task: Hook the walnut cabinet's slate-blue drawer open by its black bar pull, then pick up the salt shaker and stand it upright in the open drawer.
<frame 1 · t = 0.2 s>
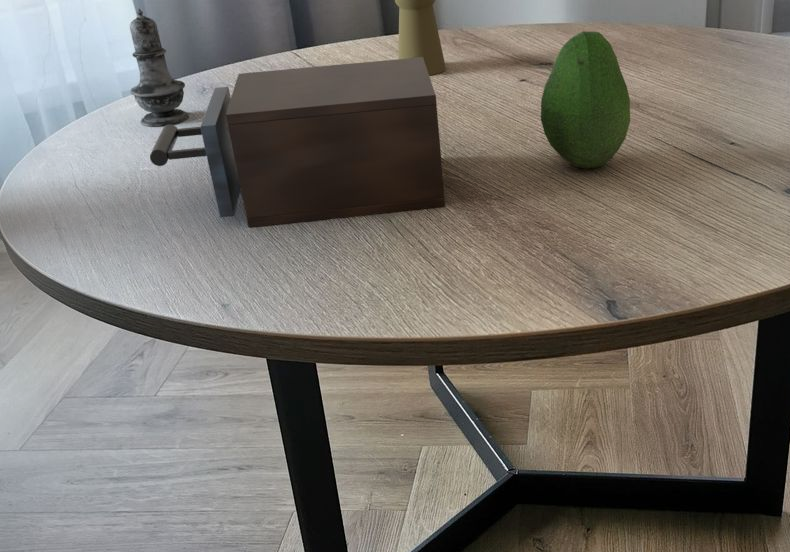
drawer: (279, 144, 83), point 5 cm above the table, slide at 1.0 cm
cabinet: (346, 190, 86), on the table
salt shaker: (165, 120, 108), on the table
fruit: (585, 167, 89), on the table
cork: (422, 71, 121), on the table
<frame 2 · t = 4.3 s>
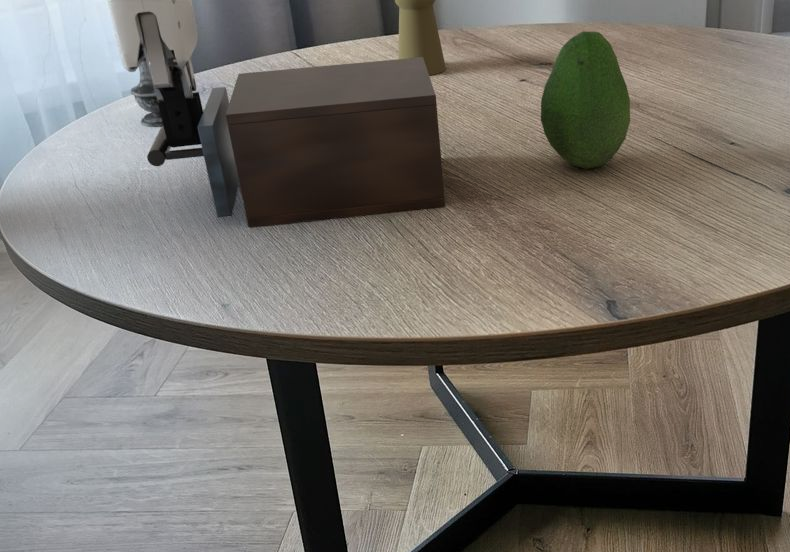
hand: (189, 142, 82), 6 cm above the table, tool pointing down, fingers closed
nothing on the table moved.
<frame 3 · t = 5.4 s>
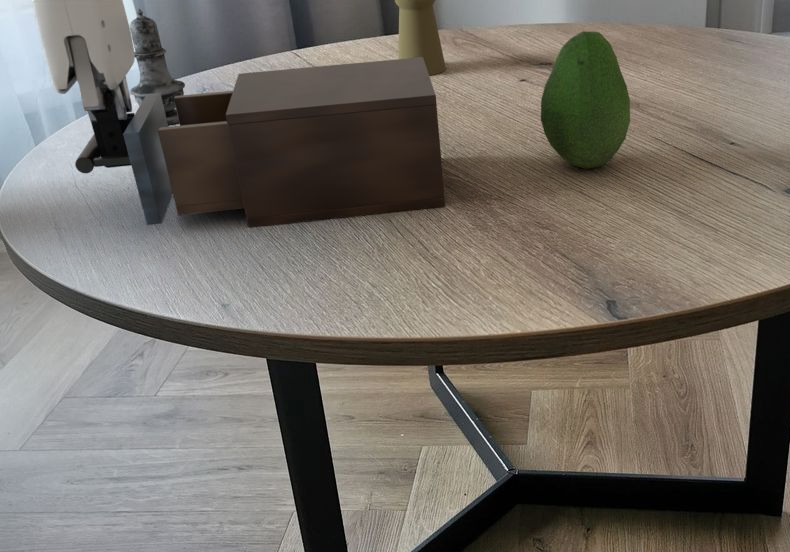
hand: (124, 162, 82), 5 cm above the table, tool pointing down, fingers closed
drawer: (209, 151, 83), point 5 cm above the table, slide at 7.0 cm, touching gripper
everything else where it was.
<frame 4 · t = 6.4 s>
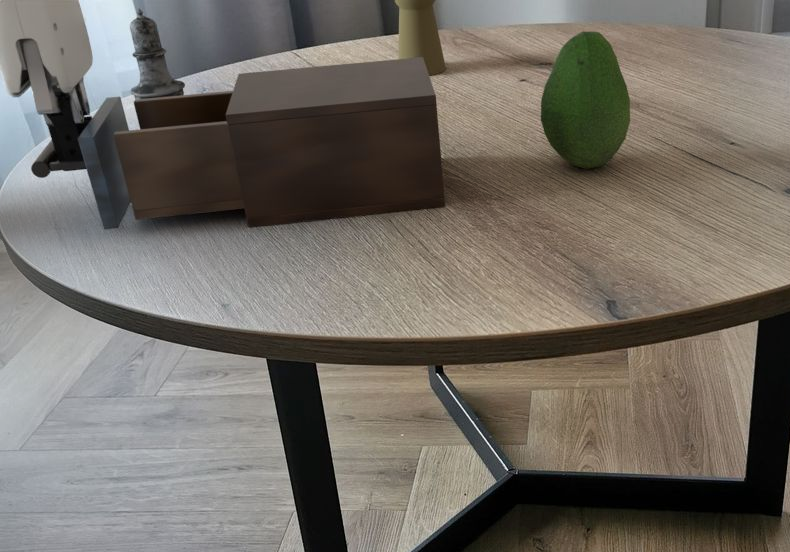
hand: (82, 166, 82), 5 cm above the table, tool pointing down, fingers closed
drawer: (168, 155, 82), point 5 cm above the table, slide at 10.4 cm
everything else where it was.
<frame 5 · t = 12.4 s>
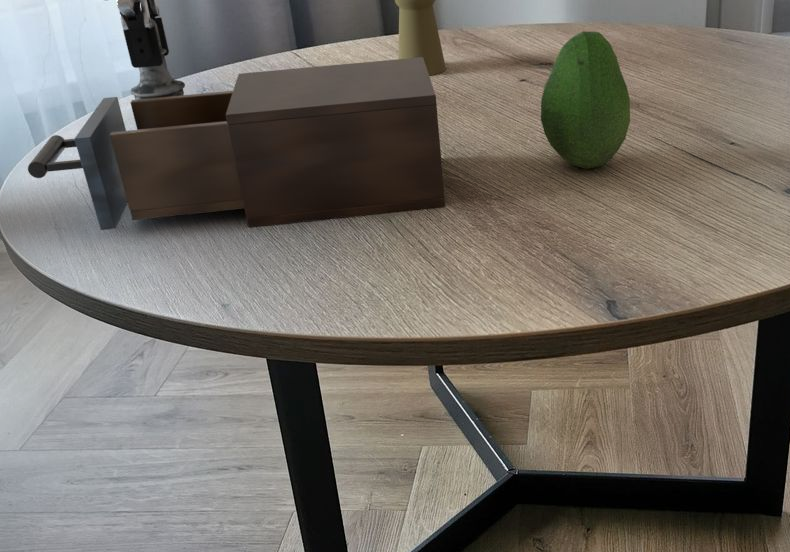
hand: (151, 59, 105), 7 cm above the table, tool pointing down, fingers closed on salt shaker, 3 cm apart
salt shaker: (165, 120, 108), on the table, touching gripper
everything else where it was.
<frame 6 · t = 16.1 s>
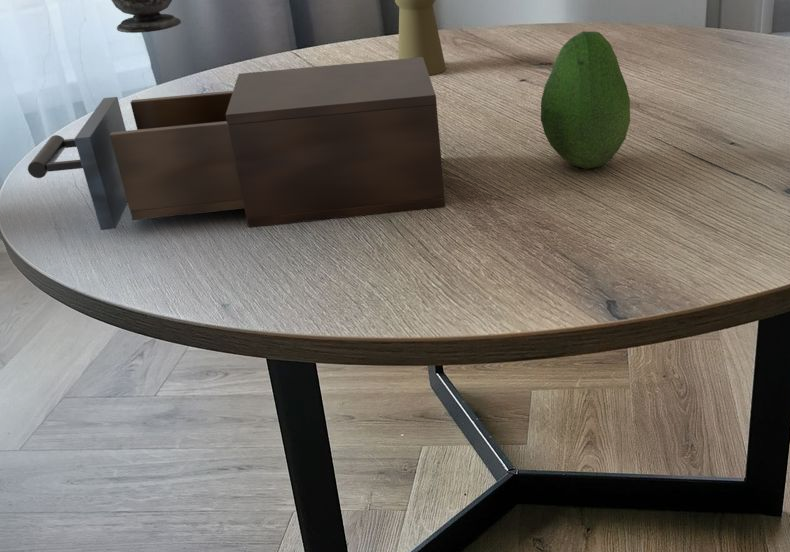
salt shaker: (149, 27, 82), point 14 cm above the table, touching gripper
everything else where it was.
when the fingers open (9 cm above the table, at t = 19.8 s): salt shaker stays where it is, resting on drawer.
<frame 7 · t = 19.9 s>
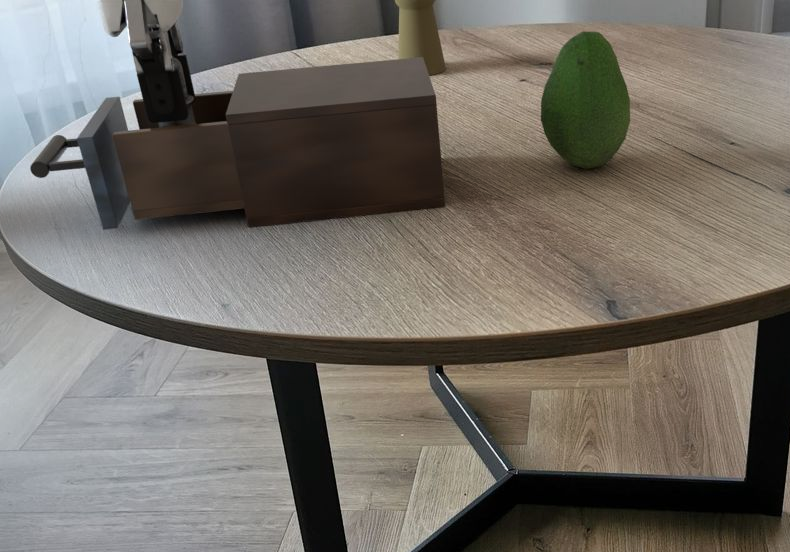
hand: (172, 109, 80), 9 cm above the table, tool pointing down, fingers open, 3 cm apart
drawer: (167, 155, 82), point 5 cm above the table, slide at 10.5 cm, touching salt shaker
salt shaker: (191, 186, 84), point 2 cm above the table, touching drawer
everything else where it was.
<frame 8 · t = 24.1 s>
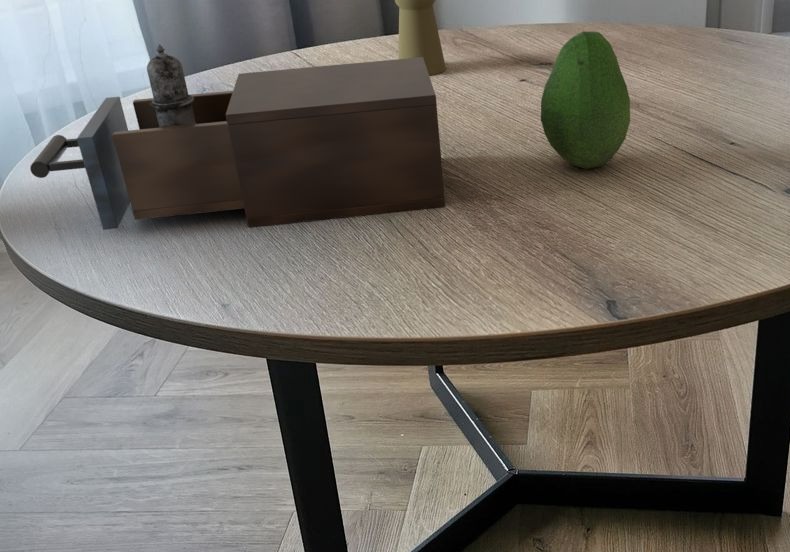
nothing on the table moved.
at the end: drawer slide at 10.5 cm; salt shaker inside the target area in the drawer (0.4 cm from its centre), point 1.8 cm above the cabinet's base; salt shaker tilted 0° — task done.
